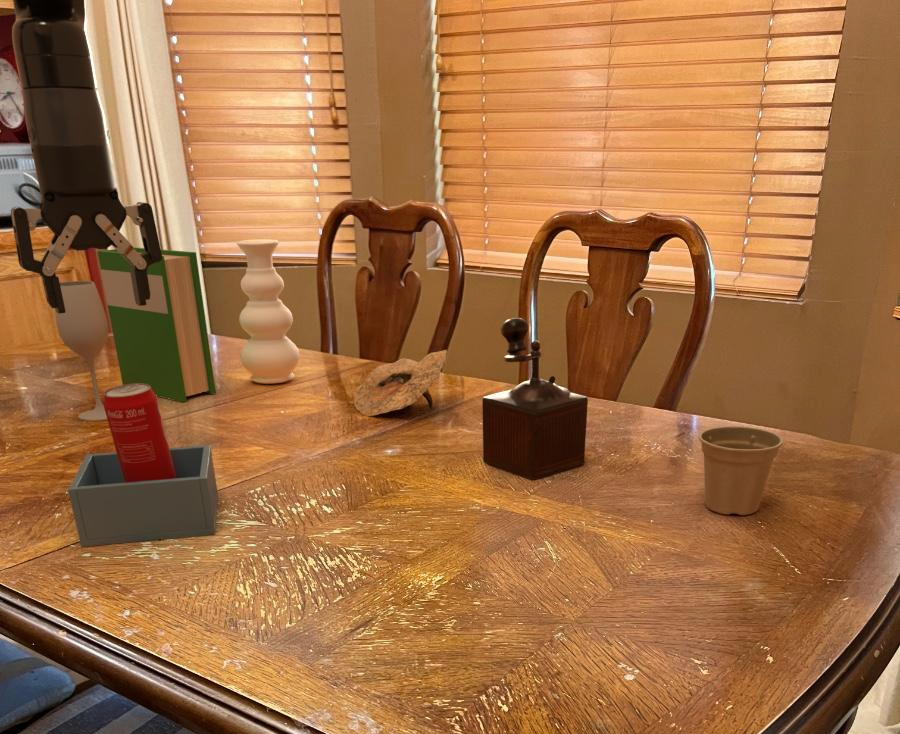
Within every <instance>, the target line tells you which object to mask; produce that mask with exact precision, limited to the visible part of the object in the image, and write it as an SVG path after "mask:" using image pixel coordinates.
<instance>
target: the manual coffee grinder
mask: <svg viewBox="0 0 900 734" xmlns="http://www.w3.org/2000/svg"><path fill="white" fill-rule="evenodd" d="M528 332H529V324H528V322H527V320H524V319H523V318H521V317H513V318H509V319H507V320H505V321H504V322H503V323H502V324H501V326H500V333H501V335H502V336H503V337H504V338H505V340H506V342H507V343H508V346H507V350H506V352H507V353H508V354H506V355H504V362H506V363H525V362H529V361H531V377H530V379H529V380H526V381H522V382H520V383H519V384H517V385H516V386H514V387H513V388H511V389H508V390H505V391H500V392H496V393H493V394H489V395H486V396H482V403H481V404H482V405H481V406H482V454H483V457H482V460H483V462H484V463H486V464H487V465H489V466H491V467H493V468H496V469H500V470H502V471H504V472H507V473H509V474H512V475H516V476H519V477H522V478H526V479H529V480H531V481H533V480H537V479H541V478H545V477H548V476H551V475H555V474H558V473H561V472H564V471H568V470H570V469H574V468H577V467H580V466H583V465H584V464H585V463H586V458H585V453H586V440H587V439H586V438H587V423H588V405H589V404H588V403H589V398H588V396H587V395H581V394H578V393H574V392H571V391H570V390H569V389H568V388H566V387H563V386H559V385H558V384H556V383H555V382H556V376H554V375H551V376H550V377H549V379H548V380H546V379H543V378H540V368H539V367H540V366H539V365H540V358H541V357H542V352H541V351H540V349H541V343H540V341H539V340H534V341H531V342H530V344H529V345H530V350H531V351H530V352H529V353H530V354H527V355H521V354H522V353H523V352H524V351H527V349H528V347H527V346H526V344H525V338H526V335H527V333H528Z"/></svg>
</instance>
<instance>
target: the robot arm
mask: <svg viewBox="0 0 900 734" xmlns="http://www.w3.org/2000/svg"><path fill="white" fill-rule="evenodd" d="M12 3H13V10H14V14H15V21H14V22H13V25H12V27H11V38H12V48H13V53H14V57H15V64H16V69H17V72H18V78H19V83H20V87H21V89H22V90H21V92H22V101H23V112H24V113H23V114H24V120H25V124H26V129H27V134H28V140H29V144H30V149H31V154H32V159H33V164H34V168H35V169H34V170H35V173H36V177H37V182H38V188H39V193H40V197H41V201H40V202H41V204H40V207H39V208H23V207H21V206H13V207H12V208H11V209H10V217H11V222H12V230H13V235H14V242H15V246H16V253H17V259H18V261H17V262H18V265H19V267H21V268H22V269H23V270H25V271H26V272H31V273H35V274H39V275H40V277H41V280H42V284H43V290H44V293H45V294H44V295H45V299H46V302H47V304H48V306H49V307H50V308H51V309H54V311H55V310H56V312H57V313H58V314H60V313H65V306H64V301H63V296H62V292H61V287H60V283H61V282H60V277H59V276H58V275H56V271H57V269H58V267H59V266H60V264H61V262H62V260H63V259H64V258H65V256H66V254H67V252H68V251H69V249H71V250H74V251H76V252H78V251H86V250H89V249H97V250H108V248H110V247H111V246H112V247H113V248H114V249H116V250H117V251H118V252H119V253H120V254H121V255H122V256H123V257H124V258H125V259H126V260H127V261H128V262H129V263H130V264H131V265H132V269H130V274H131V279H132V285H133V291H134V297H135V302H136V304H137V305H139V306H144V305H146V300H149V299H150V295H151V294H150V288H149V282H148V276H147V268H148V267H149V266H150V265H152V264H154V263H156V262H160V261H161V260H162V253H161V250H162V248H161V244H160V239H159V235H158V231H157V225H156V220H155V216H154V211H153V207H152V205H151V204H150V203H148V202H142V201H138V202H136V204H127V205H126V204H125V205H124V204H123V203H122V201H121V199H120V196H119V190H118V185H117V178H116V173H115V166H114V160H113V154H112V149H111V144H110V138H111V136H110V131H109V129H108V126H107V120H106V115H105V111H104V108H103V105H102V102H101V98H100V94H99V90H98V89H99V88H98V82H97V76H96V71H95V65H94V59H93V54H92V49H91V44H90V41H89V37H88V31H87V14H86V13H87V11H86V0H12ZM127 217H130V220H131V222H132V223H133V224H134V225H135V226H138V229H139V232H140V237H141V241H142V242H141V243H142V246H143V248H144V251H145V252H143V253H141V254H139V253H138V252H137V251H136V250H135V249H134V248H133V247H134V246H133V244H131V243H130V241H129V240H128V239H127V238H126V237H125V236H124V235H123V233H121V229H122V227H123V224H124V223H125V221H126V218H127ZM39 220H41V221H42V222H43V223H44V224H45V225H46V227H48V229H49V230H50V231H51V232H52V233H53V235H52V237H51V239H50V241H49V242H48V245H47V247H46V251H45V252H44V254H43V256H42V258H41V260H38V259H35V256H34V255H35V254H34V249H33V244H32V236H31V232H33V231H35V230H36V228H37V222H39Z"/></svg>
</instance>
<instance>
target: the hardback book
mask: <svg viewBox="0 0 900 734" xmlns="http://www.w3.org/2000/svg"><path fill="white" fill-rule="evenodd" d="M133 248H134V249H135V250H136V251H137V252H138V253H139V254H141V253H143V252H145V251H144V247H137V246H135V247H134V246H133ZM96 252H97V257H98V263H99V267H100V272H101V278H102V283H103V289H104V294H105V300H106V304H107V309H108V315H109V321H110V325H111V330H112V335H113V341H114V346H115V351H116V356H117V362H118V366H119V373H120V377H121V383H122V385H126V384H135V383H144V384H149V385H150V386H151V389H152V391H153V392H154V394H155V395H157V396H162V397H165V398H170V399H174V400H177V401H176V402H178V401H181V402H180V403H184V402H183V401H186V402H187V397H190V396H194V395H198V394H203V393H202V392H206V393H210V394H213V393H216V394H217V392H216V385H215V378H214V370H213V364H212V356H211V348H210V341H209V334H208V327H207V322H206V321H207V320H206V313H205V308H204V307H205V306H204V299H203V291H202V285H201V279H200V272H199V265H198V258H197V252H196V251H185V250H174V249H173V250H172V249H161V253H162V260H161V261H160V262H156V263H154V264H152V265H150V266H149V267H148V268H147V276H148V282H149V288H150V294H151V295H150V299H149V300H146V305H144V306H139V305H137V304H136V302H135V297H134V291H133V285H132V279H131V274H130V269H132V265H131V264H130V263H129V262H128V261H127V260H126V259H125V258H124V257H123V256H122V255H121V254H120V253H119V252H118V251H117V250H116V249H115V248H114V249H102V250H97V251H96ZM206 393H205V394H206ZM210 394H209V395H210ZM213 395H214V394H213ZM157 396H156V397H157ZM165 398H164V399H165ZM170 399H169V400H170ZM174 400H173V401H174Z"/></svg>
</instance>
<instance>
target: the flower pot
mask: <svg viewBox="0 0 900 734" xmlns="http://www.w3.org/2000/svg"><path fill="white" fill-rule="evenodd" d="M698 440H699V442H700V443H701V452H702V454H703V470H704V472H703V473H704V504H705V507H706V508H707V509H708V510H710V511H712V512H714V513H717V514H719V515H725V516H728V515H731V514H736V515H739V516H747V515H751V514H754V513H756V512H757V511H758V510H759V509H760V506H761V501H762V498H763V495H764V491H765V488H766V484H767V481H768V478H769V474H770V472H771V468H772V465H773V462H774V459H775V458H776V457H777V455H778V453H779V450H780V448H782V446H783V445H784V438H783V437H782V436H781V435H780V434H778V433H776V432H773V431H772V430H771V431H770V430H767V429H763V428H758V427H752V426H739V425H736V426H735V425H725V426H716V427H715V426H714V427H709V428H706V429H703V430H702V431H700V432H699V433H698Z"/></svg>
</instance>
